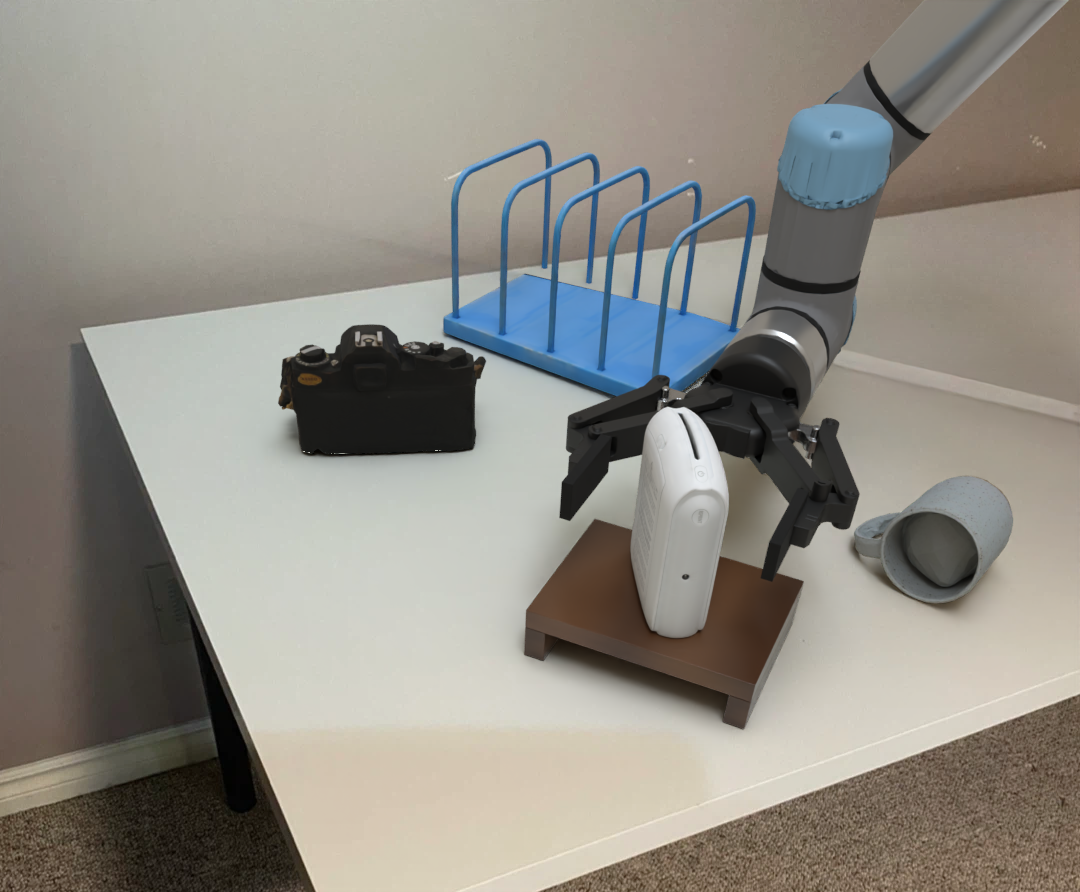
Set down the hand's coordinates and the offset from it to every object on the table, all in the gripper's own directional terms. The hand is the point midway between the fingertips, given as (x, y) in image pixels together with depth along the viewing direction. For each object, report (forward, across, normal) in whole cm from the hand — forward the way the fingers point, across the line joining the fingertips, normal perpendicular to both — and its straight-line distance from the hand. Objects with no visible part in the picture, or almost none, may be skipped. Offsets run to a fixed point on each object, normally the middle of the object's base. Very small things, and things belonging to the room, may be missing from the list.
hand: (665, 531), depth 66 cm
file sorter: (-43, +22, -12) cm, 50 cm away
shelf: (-3, 0, -11) cm, 12 cm away
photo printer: (-4, 0, -8) cm, 8 cm away
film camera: (-18, +32, -12) cm, 39 cm away
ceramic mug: (-20, -15, -12) cm, 28 cm away
